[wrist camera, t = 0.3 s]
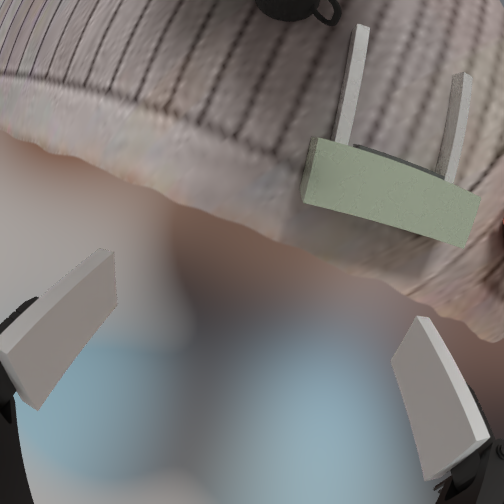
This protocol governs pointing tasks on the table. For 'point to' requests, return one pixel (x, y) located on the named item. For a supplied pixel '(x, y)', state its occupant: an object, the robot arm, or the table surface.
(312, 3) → the mug
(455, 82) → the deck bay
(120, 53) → the table surface
